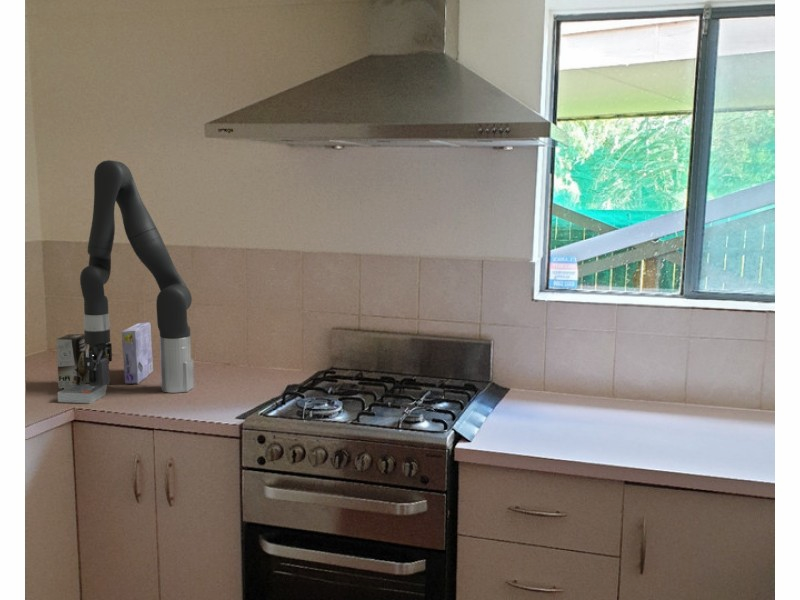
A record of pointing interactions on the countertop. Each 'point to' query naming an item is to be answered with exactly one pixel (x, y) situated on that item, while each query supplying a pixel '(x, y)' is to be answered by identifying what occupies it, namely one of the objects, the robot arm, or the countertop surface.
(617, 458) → the countertop surface
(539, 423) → the countertop surface
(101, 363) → the gray block
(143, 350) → the cake pan box
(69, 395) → the socket
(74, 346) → the coffee box
